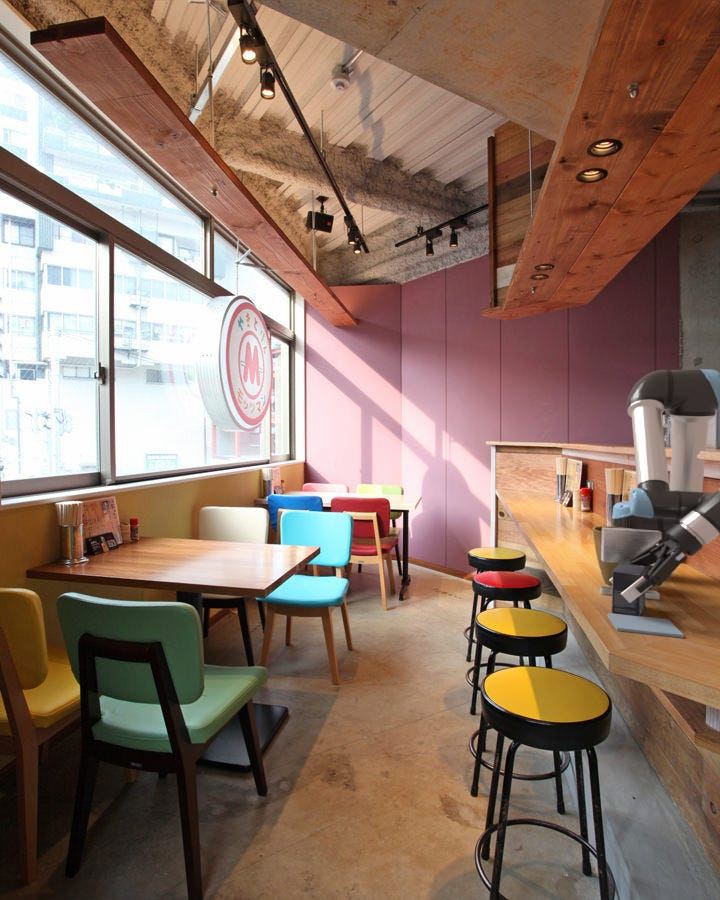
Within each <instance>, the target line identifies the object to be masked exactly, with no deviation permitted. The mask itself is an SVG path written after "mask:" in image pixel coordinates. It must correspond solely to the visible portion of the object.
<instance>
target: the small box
mask: <svg viewBox="0 0 720 900" xmlns="http://www.w3.org/2000/svg"><path fill="white" fill-rule="evenodd" d="M643 574H646V566H639V565H631V564H622V563H619V565H618V566H617V567H616V568H615V569H614V570H613V578H612V586H611V587H612V595H611V613H612V614H621V615H631V616H641V617H642V614H643V612H644V610H645V609H646V605H647V604H646V598H645V592H644V593H642V594H641V595H640V596H639V597H637V598H636V599H635V600H633V601H632V602H631V603H629V602H628V601H627V600H626V599H625V598H624V597H623V596H622V595H621V593H622V592H623V591H624V590H626V589H627V588H628V587H629V586H631V585H632V584H633V583H635V582H636V581H637V580H638V579H640V578H641V577H642V576H643ZM643 577H644V576H643ZM644 578H645V577H644ZM645 579H646V578H645Z"/></svg>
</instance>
